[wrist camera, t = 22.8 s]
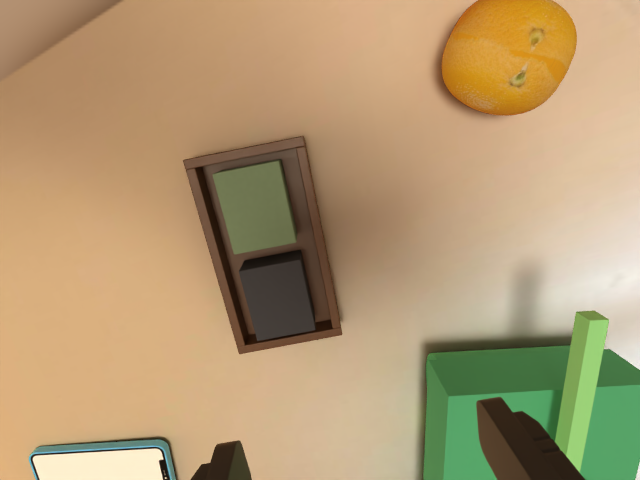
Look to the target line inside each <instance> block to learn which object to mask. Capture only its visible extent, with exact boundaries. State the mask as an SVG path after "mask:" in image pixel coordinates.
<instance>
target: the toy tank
mask: <svg viewBox="0 0 640 480" xmlns="http://www.w3.org/2000/svg"><path fill="white" fill-rule="evenodd" d="M608 323H609V319H607V318H605V317H604V316H602V315H601V314H599V313H597V312H596V311H582V312H576V316H575V322H574V328H573V334H572V340H571V345H566V346H547V347H529V348H511V349H492V350H474V351H456V352H438V353H430V354H429V355H428V357H427V361H426V382H427V406H426V429H425V451H424V474H423V480H497V478H496V476H495V475H494V473H493V471H492V469H491V467H490V466H489V464H488V462H487V460H486V458H485V456H484V454H483V451H482V448H481V445H480V441H479V434H478V421H477V408H476V402H477V401H478V400H483V399H489V398H495V397H501V398H502V399H503V400H504V401H505V402H506V404H507V405H508V406H509V408H510V409H511V411H512V412H518V411H523V412H525V413H526V414H528V415H529V416H531V417H532V418H534V419H535V420H537V421H538V422H539V423H540V424H541V425H542V427H543V428H544V429H545V430H546V432H547V433H548V434H549V435H550V438H551V439H553V440H554V442H555V443H556V444H557V445H558V446H559V448H560V450H561V451H563V453H564V454H565V455H566V456H567V458H568V459H569V460H570V461H571V463H572V464H573V465H574V466H575V468H576V469H577V470H578V471H579V472H580V474H581V475H582V476H583V477H584V479H585V480H635V478H636V474H637V470H638V466H639V462H640V370H639V369H637V368H636V367H634V366H633V365H632V364H630V363H629V362H627V361H626V360H624V359H623V358H622V357H620V356H619V355H617V354H616V353H614V352H613V351H611V350H610V349H604V344H605V339H606V333H607V328H608Z"/></svg>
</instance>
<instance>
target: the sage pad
mask: <svg viewBox="0 0 640 480" xmlns="http://www.w3.org/2000/svg"><path fill="white" fill-rule="evenodd" d="M213 179H214V183H215V186H216V190H217V194H218V197H219V201H220V205H221V209H222V212H223V216H224V220H225V223H226V227H227V231H228V234H229V238H230V242H231V245H232V249H233V253H234V254H240V253H246V252H251V251H256V250H261V249H266V248H271V247H277V246H282V245H287V244H292V243H296V242H297V229H296V224H295V220H294V215H293V210H292V206H291V201H290V197H289V192H288V187H287V183H286V178H285V174H284V169H283V164H282V160H281V159H277V160H272V161H267V162H262V163H257V164H252V165H247V166H242V167H237V168H232V169H227V170H222V171H219V172H216V173H214V174H213Z"/></svg>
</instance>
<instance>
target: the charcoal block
mask: <svg viewBox="0 0 640 480" xmlns="http://www.w3.org/2000/svg"><path fill="white" fill-rule="evenodd" d="M239 275H240V279H241V282H242V286H243V290H244V294H245V297H246V301H247V305H248V308H249V312H250V316H251V319H252V323H253V327H254V331H255V334H256V338H257V341H260V340H265V339H271V338H276V337H281V336H287V335H292V334H297V333H303V332H308V331H313V330H316V326H315V312H314V307H313V303H312V298H311V294H310V289H309V284H308V280H307V275H306V270H305V266H304V261H303V257H302V252H301V250H296V251H291V252H285V253H280V254H275V255H270V256H265V257H260V258H254V259H249V260H245V261H244V262H243V264H242V266H241V268H240V270H239Z"/></svg>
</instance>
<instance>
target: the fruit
mask: <svg viewBox="0 0 640 480" xmlns="http://www.w3.org/2000/svg"><path fill="white" fill-rule="evenodd" d="M576 42H577V35H576V29H575V25H574V23H573V21H572V19H571V17H570V15H569V14H568V13H567V12H566V10H565V9H564V8H562V7H561V6H560V5H559V4H557V3H556V2H554V1H552V0H478V1H477V2H475V3H474V4H473V5H471V6H470V7H469V8H468V9H467V10H466V11H465V12H464V13H463V15H462V16H461V17H460V19H459V20H458V22H457V23H456V25H455V27H454V29H453V31H452V33H451V35H450V37H449V39H448V42H447V44H446V47H445V50H444V53H443V58H442V76H443V80H444V82H445V85H446V87H447V88H448V90H449V91H450V92H451V94H452V95H453V96H454V97H455V98H457V99H458V100H459V101H461V102H462V103H464V104H465V105H467V106H469V107H471V108H473V109H475V110H478V111H481V112H484V113H488V114H493V115H516V114H521V113H525V112H528V111H530V110H532V109H535V108H536V107H538V106H540V105H541V104H542V103H544V102H545V101H546V100H547V99H548V98H549V97H550V96H551V95H552V94H553V93H554V92H555V91H556V89H557V88H558V86H559V84H560V83H561V81H562V80H563V78H564V76H565V75H566V73H567V71H568V68H569V66H570V63H571V61H572V59H573V56H574V53H575V49H576Z"/></svg>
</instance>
